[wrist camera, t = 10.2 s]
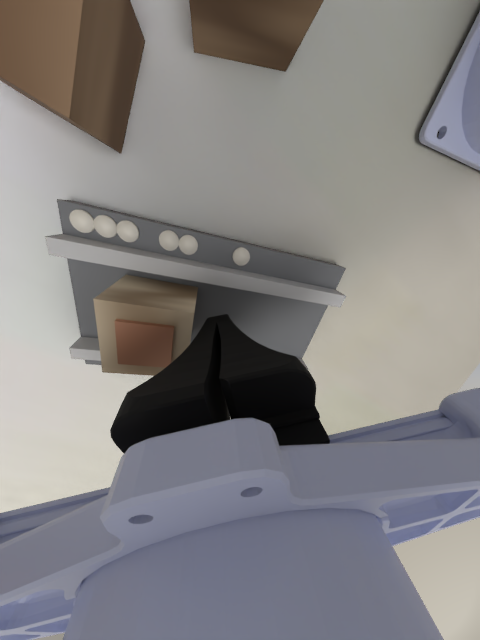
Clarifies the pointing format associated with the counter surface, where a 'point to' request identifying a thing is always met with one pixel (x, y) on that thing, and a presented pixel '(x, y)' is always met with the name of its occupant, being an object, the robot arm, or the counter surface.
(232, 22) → the walnut block
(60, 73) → the walnut block
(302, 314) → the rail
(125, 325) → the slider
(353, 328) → the counter surface
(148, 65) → the counter surface
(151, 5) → the counter surface
